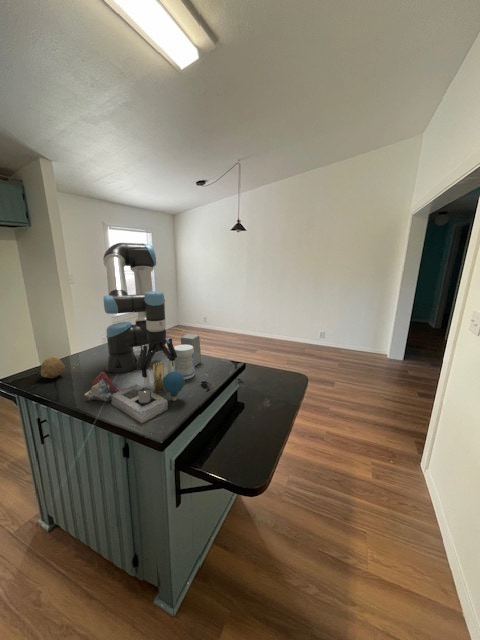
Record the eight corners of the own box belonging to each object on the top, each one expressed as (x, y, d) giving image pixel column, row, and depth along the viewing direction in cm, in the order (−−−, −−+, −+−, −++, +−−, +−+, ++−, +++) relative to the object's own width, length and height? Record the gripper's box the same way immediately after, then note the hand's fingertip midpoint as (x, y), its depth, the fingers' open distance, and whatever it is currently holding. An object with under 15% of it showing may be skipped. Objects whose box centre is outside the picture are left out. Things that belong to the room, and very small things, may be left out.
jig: (111, 403, 98) (109, 385, 96) (137, 393, 107) (135, 375, 105) (142, 423, 87) (140, 402, 85) (167, 409, 95) (166, 389, 94)
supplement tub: (197, 377, 122) (197, 348, 119) (178, 382, 117) (177, 352, 114) (189, 370, 130) (189, 343, 127) (171, 374, 125) (170, 346, 122)
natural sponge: (70, 373, 124) (67, 354, 122) (58, 382, 115) (55, 361, 113) (51, 373, 123) (48, 354, 121) (37, 382, 115) (34, 361, 112)
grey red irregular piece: (127, 386, 108) (113, 372, 99) (114, 411, 101) (97, 398, 92) (105, 382, 111) (89, 368, 102) (91, 406, 104) (72, 394, 95)
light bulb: (172, 393, 107) (171, 366, 104) (189, 397, 104) (188, 370, 101) (159, 403, 99) (157, 374, 97) (176, 408, 96) (175, 378, 94)
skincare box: (201, 362, 140) (201, 335, 137) (193, 367, 134) (193, 338, 131) (189, 359, 144) (188, 333, 141) (181, 364, 138) (180, 336, 134)
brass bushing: (152, 390, 109) (150, 364, 107) (160, 386, 113) (159, 361, 110) (158, 393, 107) (157, 366, 104) (167, 389, 110) (165, 363, 108)
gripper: (135, 337, 93) (139, 392, 97) (184, 325, 111) (185, 372, 116) (124, 333, 97) (128, 386, 102) (173, 323, 115) (174, 367, 120)
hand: (159, 378), depth 109 cm, fingers open, 11 cm apart
